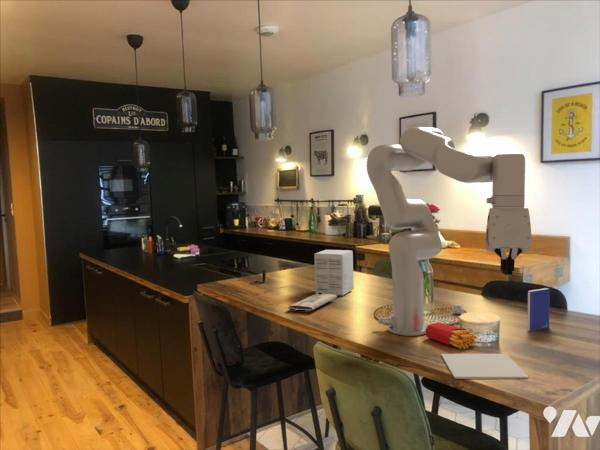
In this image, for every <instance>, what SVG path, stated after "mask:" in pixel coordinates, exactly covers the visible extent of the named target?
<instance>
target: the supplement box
mask: <svg viewBox="0 0 600 450" xmlns="http://www.w3.org/2000/svg"><path fill="white" fill-rule="evenodd" d="M313 255H314V286H315V288H314V289H315V293H314V294H319V293H322V294H334V295H337V296H344V295H347V294H348V293H350V292H351V291H353V290H354V288H355V287H354V252H353V250H349V249H345V250H343V249H324V250H321V251H319V252H316V253H315V252H314V254H313Z"/></svg>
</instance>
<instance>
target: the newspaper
mask: <svg viewBox="0 0 600 450" xmlns="http://www.w3.org/2000/svg"><path fill="white" fill-rule="evenodd" d="M337 297H338V295H333V294H319V293H314V294H312V295H310V296H307V297H306V298H303V299H301V300H300V301H297V302H295V303H292V304H291V305H289V306H288V307H287V309H288V310H289V309H298V310H305V311H304V312H311V311H313V310H315V309H317V308H319V307H321V306H323V305H325V304H326V303H328V302H331V301H332V300H334V299H337Z"/></svg>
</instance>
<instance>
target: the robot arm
mask: <svg viewBox="0 0 600 450" xmlns="http://www.w3.org/2000/svg"><path fill="white" fill-rule="evenodd" d="M399 137H400V139H399V143H400V144H397V143H395V144H393V143H390V144H389V143H386V144H384V143H383V144H379V145H377V146H374V148H372V149H371V150H370V151H369V153H368V155H367V159H366V172H367V175H368V178H369V181H370V183H371V184H372V187H373V189H374V191H375V194H376V197H377V198H376V199H377V200H378V203H379V206H380V210H381V213H382V216H383V219H384V222H385V224H386V226H387V227H388V228H390V229H392V230H404V229H411V230H407V231H401V232H398V233H396V234H394V235H392V237H391V238H390V240H389V242H388V252H389V257H390V262H391V270H392V271H391V273H392V279H391V280H392V313H391V315H390V316H388V317H378V324H379V325H380V324H381V325H382V324H383V326H388V327H387V329H388V331H389V332H390V333H392V334H394V335H399V336H406V337H408V336H409V337H415V336H423V335H426V328H427V326H428V325H426V323H425V318H424V316H425V313H424V312H425V311H424V308H425V307H424V306H425V305H424V303H425V301H424V300H425V299H424V273H423V269H422V268H421V265H420V263H419V261H424V260H428V259H433V258H435V257H436V256H438V254H439V253H440V251H441V246H442V245H441V243H442V242H441V238H440V234H439V231H438V228H437V226H436V223H435V220H434V217H433V214H432V211H431V209H430V207H429V206H428V204H427V203H426V202H425V201H424V200H422V199H419V198H407V197H406V194H405V192H404V188H403V185H402V184H401V183H400V181H399V179H398V178H397V177H396V176H395V175H394V174H393V173H392V171H393V172H401V171H402V172H405V171H407V172H409V171H414V170H415V169H418V168H419V167H421V166H422V165H425V164H426V163H428V164H431V165H434V168H436V170H437V171H438V173H440V174H441V175H444V176H446V177H448V178H450V179H453V180H456V181H458V182H460V183H466V184H474V183H492V195H491V197H488V198H487V197H486V201H485V203H486V204H489V205H491V206H492V207H489V208H488V214H487V220H486V227H485V228H486V229H485V241H486V242H485V243H486V244H485V251H487V252H490V253H494V254H495V255H496V256H498V257H499V258H500V268H499V269H500V271H501V272H502V274H503V275H505V276H512V275H513V272H515V263H516V262H515V260H516V259H517V257H518V256H519V255H520V254H522V253H526V252H528V251H531V245H532V226H531V216H530V210H529V207H525V202H526V201H525V200H526V199H525V196H526V195H525V193H526V192H525V191H526V190H525V189H526V187H525V185H526V157H525V155H524V154H523V153H520V152H502V153H497V154H496V153H494V154H493V153H468V152H464V151H461V150H458V149H456V147H455V143H454V141H453V140H452V139H451V138H450V137H447V136H445V134H444V132H443V131H442V130H440V129H439V128H436V127H427V126H426V127H424V126H413V127H412V126H411V127H409V128H407V129H405V130H404V131H403V132H402V134H401V135H400V136H399ZM507 248H509V250H508V255H507V250H506V249H507Z"/></svg>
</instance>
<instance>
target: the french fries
mask: <svg viewBox="0 0 600 450" xmlns="http://www.w3.org/2000/svg"><path fill="white" fill-rule="evenodd" d="M425 336H426V337H427V338H428V339H430V340H433V341H436V342H439V343H441V344H444V345H447V346H450V347H454V348H455V347H456V348H457V349H459V350H461V349H463V350H466V349H468V348H469V347H472V345H474V343H475V342H476V340H477V339H478V336H477V335H475V334H474V333H473V332H471V331H470V330H468V329H466V328H464V327H459V326H455V325H450V324H447V323H442V322H435V323H434V322H433V323H432V324H431V323H430V324H428V325H427V328H426V334H425Z"/></svg>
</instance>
